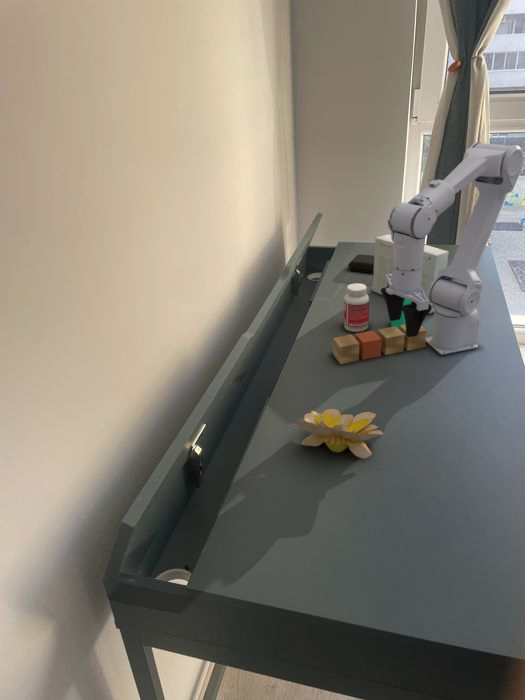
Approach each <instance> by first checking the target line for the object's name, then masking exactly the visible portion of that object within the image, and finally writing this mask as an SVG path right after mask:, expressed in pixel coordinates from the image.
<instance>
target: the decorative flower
mask: <svg viewBox="0 0 525 700" xmlns="http://www.w3.org/2000/svg"><path fill="white" fill-rule="evenodd" d="M376 416H377V414H376V413H374V412H371V411H364V412H361V413H358V414H356V415H355V416H354V415H353V414H341V412H340V411H339V410H338V409H337V408H328V409H325V410H324V411H323V412H322V413H321V412H318V411H314V410H310V412H308V413H305V414H304V418H303V419H304V420H296V421H293V423H294V424H296V425H297V426H299V427H300V428H302V429H303V430H305V432H308V433H310V434H309V435H308V436H306V437H305V438H304V439H303V440H302V441H301V442H300V444H301V445H303V446H311V447H318V446H320V445H322V444H323V443H324V444H325V445H326V446H327V448H328V449H329V450H330V451H331V452H333V453H342V452H343V451H345V450H347V449H349V451H350V452H351V453H352V454H353V455H354V456H356V457H357V458H360V459H367V458H369V457H371V456H372V455H373V453H372V451H371V450H370V448H369V447H368V446H367V444H366V443H365V442H364V441H368V440H371V439H374V438H377V437H379V436H380V437H381V436H382V435H384V433H383V431H382V430H378V428H379V426H377V425H376V424H371V423H372V422H373V420H374V419H375V418H376Z"/></svg>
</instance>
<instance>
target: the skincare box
mask: <svg viewBox="0 0 525 700" xmlns="http://www.w3.org/2000/svg"><path fill="white" fill-rule="evenodd" d="M374 241H375V242H374V256H375V258H374V273H373V276H372V277H373V279H372V292H374V293H376V294H379V295H381V296H383V294H382V293H381V289H382V288H385V287H387V286H388V285H387V284H385V275H389V274H392V266H393V265H392V264H393V246H394V242H393V241H392V239H391V234H389V233H388V234H383V235H379V236H377V237H375V239H374ZM448 260H449V251H448V250H444V249H441V248H437V247H435V246H431V245H427V244H424V255H423V268H422V279H421V286H422V289H423V291H424V294H425V296H426V298H427V299H428V289H429V287H430V285H431V283H432V282H433V281H434V279H435V278H436V276H437V274H438V271H439V270H441V269H443V268H445V267H448ZM428 300H429V299H428ZM429 304H430V305H431V306H432V303H431V302H430V301H429ZM434 312H435V309H434V308H432V309H431V311H430V312H429V313H428V315H429V314H432V313H434Z"/></svg>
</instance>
